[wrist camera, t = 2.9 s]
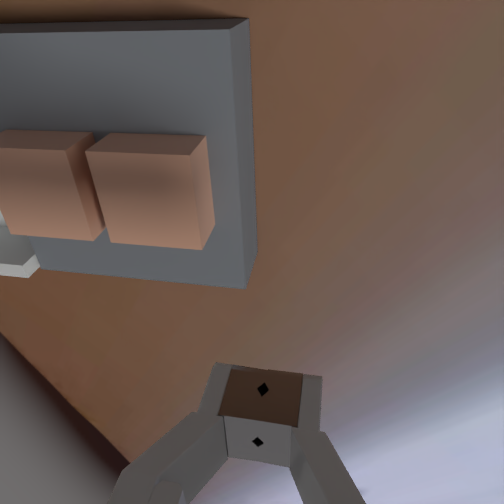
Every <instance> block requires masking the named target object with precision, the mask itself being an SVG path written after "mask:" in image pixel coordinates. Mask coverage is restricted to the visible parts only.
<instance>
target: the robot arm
mask: <svg viewBox="0 0 504 504" xmlns="http://www.w3.org/2000/svg"><path fill="white" fill-rule="evenodd" d="M322 381H323V379H322V376H315V375H307V374H304V375H303V373H294V372H286V371H277V370H269V369H268V370H264V369H257V368H251V367H245V366H239V365H232V364H225V363H218V362H216V363H215V365H214V366H213V368H212V371H211V374H210V377H209V379H208V382H207V385H206V388H205V391H204V394H203V397H202V400H201V403H200V406H199V409H198V412H191V413H190V414H189V415H188V416H186V417H185V418H184V419H183V420H182V421H180V422H179V423H178V424H177V425H176V426H175V427H173V428H172V429H171V430H170V431H169V432H167V433H166V434H165V435H164V436H163V437H161V438H160V439H159V440H158V441H157V442H156V443H154V444H153V445H152V446H151V447H150V448H148V449H147V450H146V451H145V452H144V453H142V454H141V455H140V456H139V457H138V458H137V459H135V460H134V461H133V462H132V463H131V464H129V465H128V466H127V467H126V468H125V469H124V470H122V472H121V474H120V477H119V479H118V481H117V483H116V485H115V487H114V490H113V492H112V494H111V496H110V498H109V501H108V503H107V504H189V503H190V502H191V501H192V500H193V499H194V497H195V496H196V495H197V494H198V493H199V492H200V490H201V489H202V488H203V487H204V486H205V485H206V484H207V482H208V481H209V480H210V479H211V478H212V477H213V476H214V474H215V473H216V472H217V471H218V470H219V469H220V467H221V466H222V465H223V464H224V463H225V462H226V461H227V459H228V458H227V457H231V458H238V459H245V460H252V461H259V462H264V463H269V464H274V465H279V466H284V467H289V468H290V471H291V474H292V476H293V479H294V481H295V484H296V486H297V489H298V491H299V494H300V496H301V499H302V501H303V504H366V503H365V501H364V500H363V498H362V496H361V494H360V492H359V491H358V489H357V487H356V485H355V484H354V482H353V480H352V478H351V477H350V475H349V473H348V471H347V470H346V468H345V466H344V464H343V463H342V461H341V459H340V457H339V456H338V454H337V452H336V450H335V449H334V447H333V445H332V443H331V442H330V440H329V438H328V436H327V435H326V433H325V432H321V431H320V415H321V398H322Z"/></svg>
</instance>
